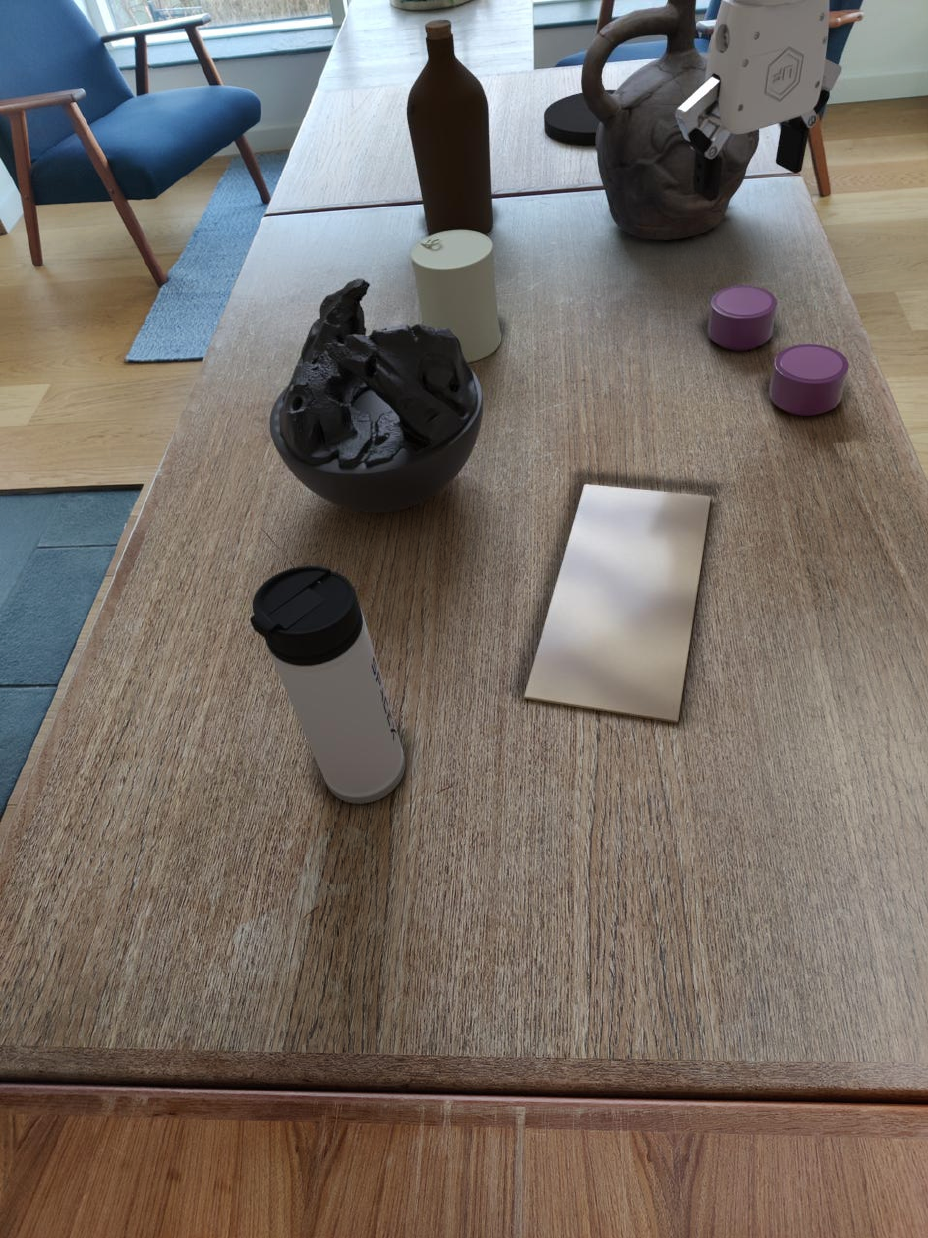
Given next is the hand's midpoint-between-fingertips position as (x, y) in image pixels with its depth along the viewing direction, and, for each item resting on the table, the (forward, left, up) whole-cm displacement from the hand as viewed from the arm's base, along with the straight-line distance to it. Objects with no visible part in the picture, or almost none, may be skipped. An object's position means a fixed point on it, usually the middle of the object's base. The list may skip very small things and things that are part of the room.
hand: (747, 181), depth 87 cm
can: (+29, -8, -18) cm, 35 cm away
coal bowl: (+38, +17, -18) cm, 46 cm away
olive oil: (+27, -38, -18) cm, 50 cm away
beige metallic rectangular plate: (+18, +35, -18) cm, 44 cm away
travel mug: (+41, +50, -18) cm, 68 cm away
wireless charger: (+2, -68, -18) cm, 70 cm away
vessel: (0, -31, -18) cm, 35 cm away
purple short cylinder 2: (-5, +12, -18) cm, 22 cm away
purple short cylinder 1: (-2, -1, -18) cm, 18 cm away
